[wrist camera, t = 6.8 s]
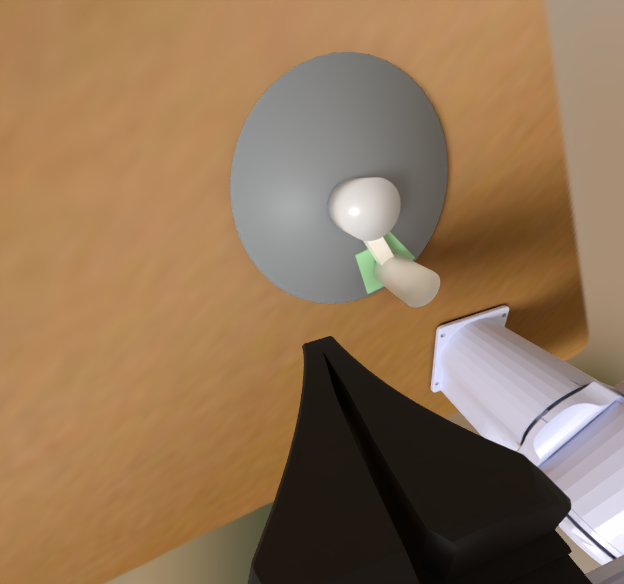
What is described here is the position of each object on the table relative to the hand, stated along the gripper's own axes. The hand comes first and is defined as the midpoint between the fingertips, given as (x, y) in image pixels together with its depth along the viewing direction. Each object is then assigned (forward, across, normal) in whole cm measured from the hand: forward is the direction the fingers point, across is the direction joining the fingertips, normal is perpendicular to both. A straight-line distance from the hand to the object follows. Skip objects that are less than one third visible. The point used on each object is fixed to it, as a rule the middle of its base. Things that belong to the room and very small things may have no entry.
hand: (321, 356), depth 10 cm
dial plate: (+8, -4, -5) cm, 10 cm away
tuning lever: (+6, -6, -3) cm, 9 cm away
